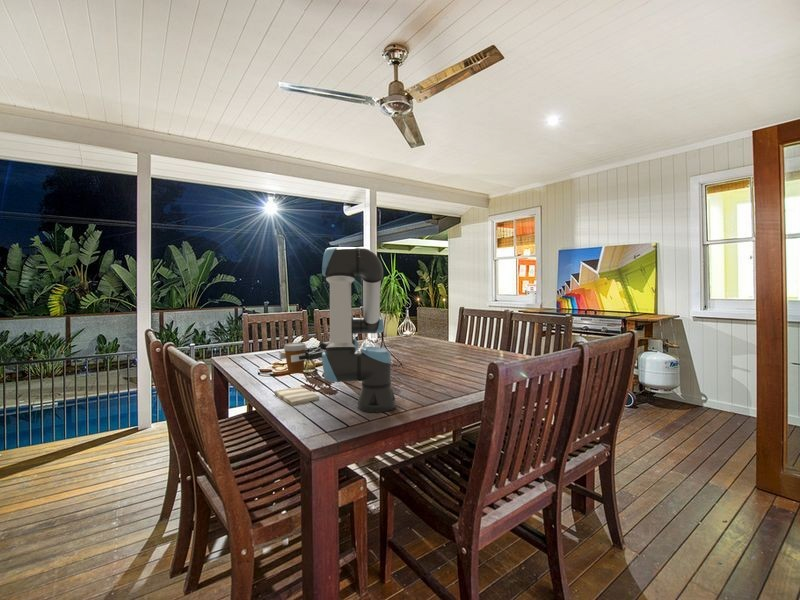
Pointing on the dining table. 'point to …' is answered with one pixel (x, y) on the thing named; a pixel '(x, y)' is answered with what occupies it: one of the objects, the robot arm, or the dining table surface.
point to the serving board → (296, 395)
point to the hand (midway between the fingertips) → (285, 357)
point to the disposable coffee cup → (294, 350)
